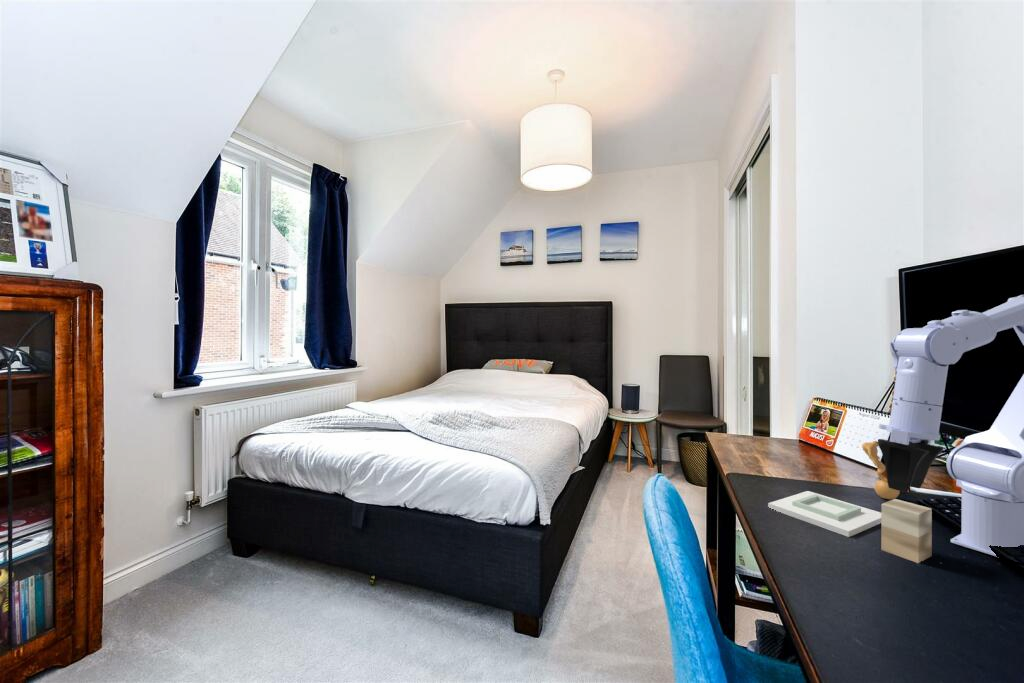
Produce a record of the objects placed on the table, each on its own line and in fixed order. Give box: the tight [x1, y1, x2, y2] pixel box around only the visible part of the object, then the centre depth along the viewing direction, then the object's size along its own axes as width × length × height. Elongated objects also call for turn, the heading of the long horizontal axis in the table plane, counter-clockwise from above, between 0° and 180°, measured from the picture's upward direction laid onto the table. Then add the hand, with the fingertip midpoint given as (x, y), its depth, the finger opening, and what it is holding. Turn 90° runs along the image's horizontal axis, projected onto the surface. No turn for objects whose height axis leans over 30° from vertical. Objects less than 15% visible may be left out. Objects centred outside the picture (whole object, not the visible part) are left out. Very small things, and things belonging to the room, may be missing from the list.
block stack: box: [880, 498, 933, 564], centre depth 68 cm, size 5×5×8 cm
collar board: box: [767, 490, 881, 538], centre depth 83 cm, size 14×14×2 cm
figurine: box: [861, 440, 901, 500], centre depth 90 cm, size 8×6×12 cm
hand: (904, 488), depth 67 cm, fingers open, 7 cm apart
